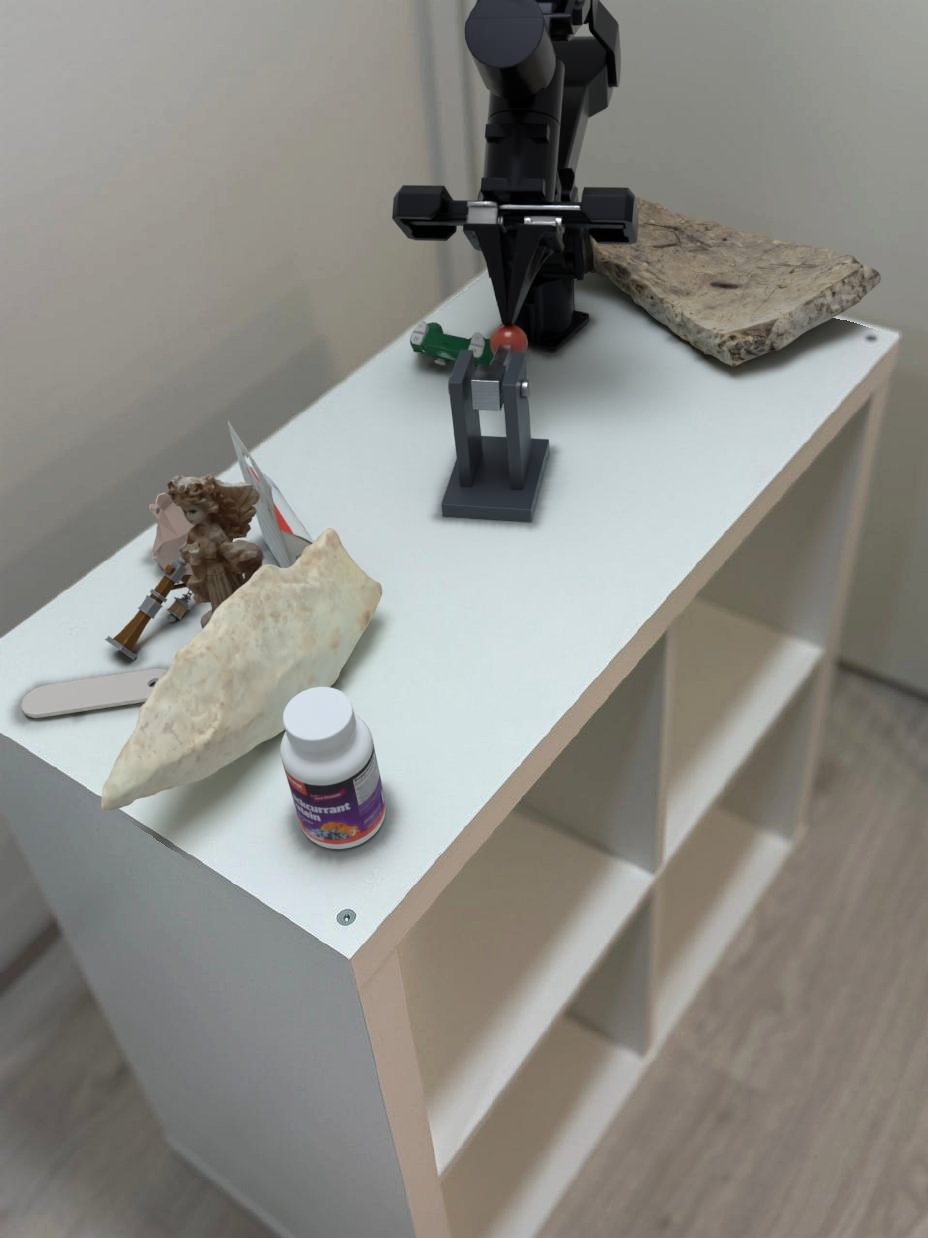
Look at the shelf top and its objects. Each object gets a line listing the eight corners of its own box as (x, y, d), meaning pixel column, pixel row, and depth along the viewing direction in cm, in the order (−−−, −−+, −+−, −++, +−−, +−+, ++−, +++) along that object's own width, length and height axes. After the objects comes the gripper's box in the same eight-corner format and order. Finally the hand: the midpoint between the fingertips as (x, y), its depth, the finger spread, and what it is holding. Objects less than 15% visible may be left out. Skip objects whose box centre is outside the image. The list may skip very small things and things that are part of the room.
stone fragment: (767, 397, 105) (904, 301, 114) (774, 336, 101) (916, 240, 110) (529, 284, 120) (666, 207, 129) (527, 227, 116) (668, 151, 125)
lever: (494, 352, 102) (493, 317, 100) (531, 353, 101) (530, 318, 99) (466, 413, 93) (464, 376, 92) (506, 415, 93) (504, 377, 91)
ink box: (291, 526, 97) (262, 404, 89) (336, 597, 91) (309, 472, 83) (256, 539, 97) (224, 417, 89) (299, 611, 90) (268, 486, 82)
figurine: (178, 669, 87) (119, 501, 77) (219, 611, 91) (167, 444, 81) (273, 690, 85) (224, 520, 75) (310, 630, 89) (269, 461, 78)
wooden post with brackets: (219, 585, 92) (187, 556, 88) (153, 673, 91) (118, 649, 87) (203, 575, 93) (171, 546, 89) (138, 663, 92) (102, 638, 88)
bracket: (465, 446, 103) (453, 332, 96) (549, 450, 102) (544, 335, 94) (442, 516, 97) (427, 400, 90) (531, 522, 96) (524, 404, 88)
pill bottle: (284, 838, 76) (252, 735, 70) (324, 772, 80) (297, 668, 73) (364, 862, 75) (339, 759, 68) (401, 793, 78) (380, 688, 71)
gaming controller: (423, 364, 116) (394, 349, 110) (434, 324, 115) (405, 307, 110) (512, 384, 112) (487, 370, 107) (524, 342, 112) (499, 326, 106)
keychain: (174, 700, 85) (177, 672, 88) (172, 694, 85) (175, 665, 87) (20, 723, 85) (27, 694, 87) (17, 717, 85) (25, 688, 87)
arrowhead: (268, 510, 87) (54, 757, 70) (342, 499, 84) (137, 756, 67) (328, 624, 92) (142, 881, 75) (400, 618, 89) (224, 885, 72)
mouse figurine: (220, 600, 92) (199, 530, 88) (141, 566, 96) (116, 498, 91) (264, 558, 95) (246, 488, 91) (186, 527, 99) (164, 459, 94)
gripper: (649, 163, 104) (634, 350, 104) (431, 161, 108) (417, 342, 108) (640, 108, 93) (623, 318, 93) (398, 109, 97) (382, 311, 97)
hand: (507, 324), depth 98 cm, fingers closed
